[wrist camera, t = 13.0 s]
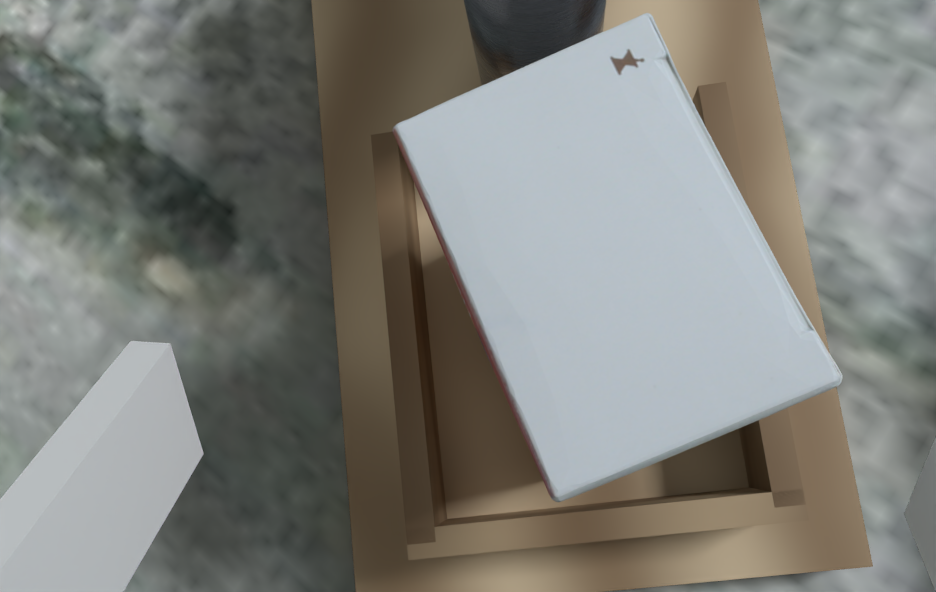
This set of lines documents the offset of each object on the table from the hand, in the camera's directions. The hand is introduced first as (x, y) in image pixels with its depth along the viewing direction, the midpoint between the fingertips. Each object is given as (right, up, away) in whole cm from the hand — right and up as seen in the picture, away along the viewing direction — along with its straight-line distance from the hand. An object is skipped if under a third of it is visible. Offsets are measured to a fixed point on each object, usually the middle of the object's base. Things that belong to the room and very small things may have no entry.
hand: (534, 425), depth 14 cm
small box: (+2, +1, +11) cm, 11 cm away
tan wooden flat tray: (+2, +5, +13) cm, 14 cm away
